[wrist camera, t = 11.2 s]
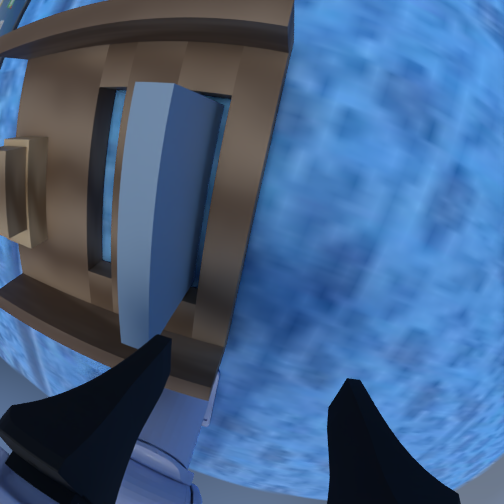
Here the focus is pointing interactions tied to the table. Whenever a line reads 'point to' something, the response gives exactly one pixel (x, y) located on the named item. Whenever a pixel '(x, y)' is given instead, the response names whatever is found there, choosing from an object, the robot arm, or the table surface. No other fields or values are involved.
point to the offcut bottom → (33, 189)
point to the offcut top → (12, 190)
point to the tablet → (11, 16)
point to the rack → (94, 157)
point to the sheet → (162, 203)
